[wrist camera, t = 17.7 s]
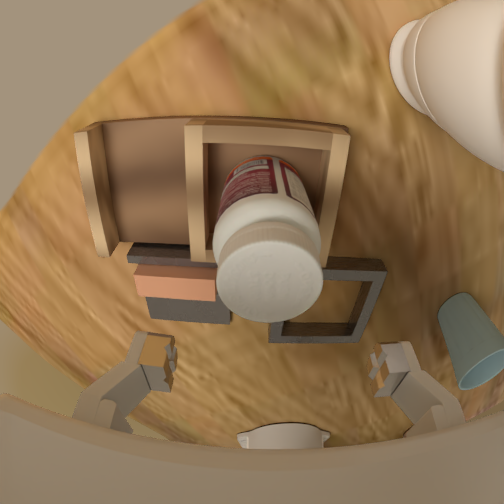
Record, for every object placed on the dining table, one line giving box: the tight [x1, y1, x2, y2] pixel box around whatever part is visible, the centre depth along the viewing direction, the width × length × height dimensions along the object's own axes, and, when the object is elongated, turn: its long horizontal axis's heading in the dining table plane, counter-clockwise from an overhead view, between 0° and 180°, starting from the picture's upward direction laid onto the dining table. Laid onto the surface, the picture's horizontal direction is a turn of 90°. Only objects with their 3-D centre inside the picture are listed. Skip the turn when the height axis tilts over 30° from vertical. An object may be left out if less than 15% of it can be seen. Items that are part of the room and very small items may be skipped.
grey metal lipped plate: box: [127, 242, 230, 324], centre depth 30 cm, size 10×9×3 cm
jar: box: [389, 0, 504, 172], centre depth 12 cm, size 11×10×15 cm
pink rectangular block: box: [134, 264, 218, 301], centre depth 27 cm, size 2×7×4 cm, turn 87°
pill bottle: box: [213, 155, 323, 323], centre depth 19 cm, size 6×6×11 cm
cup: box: [438, 293, 504, 390], centre depth 29 cm, size 8×8×10 cm
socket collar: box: [268, 257, 388, 343], centre depth 31 cm, size 10×10×2 cm
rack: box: [74, 116, 350, 267], centre depth 23 cm, size 11×20×4 cm, turn 87°
